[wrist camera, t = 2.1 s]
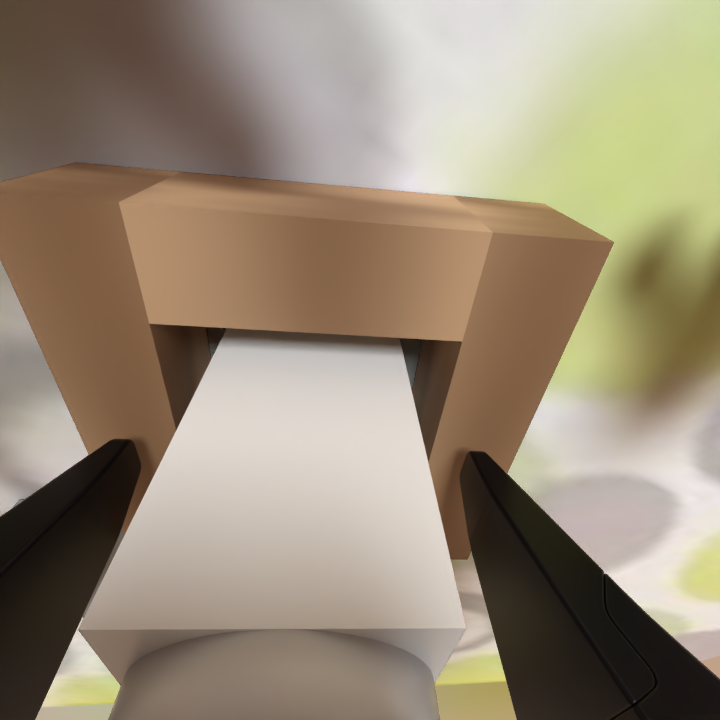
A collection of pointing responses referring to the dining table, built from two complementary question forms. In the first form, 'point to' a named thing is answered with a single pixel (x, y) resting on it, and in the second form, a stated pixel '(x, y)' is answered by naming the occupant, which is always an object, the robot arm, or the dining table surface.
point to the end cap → (285, 546)
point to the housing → (293, 297)
